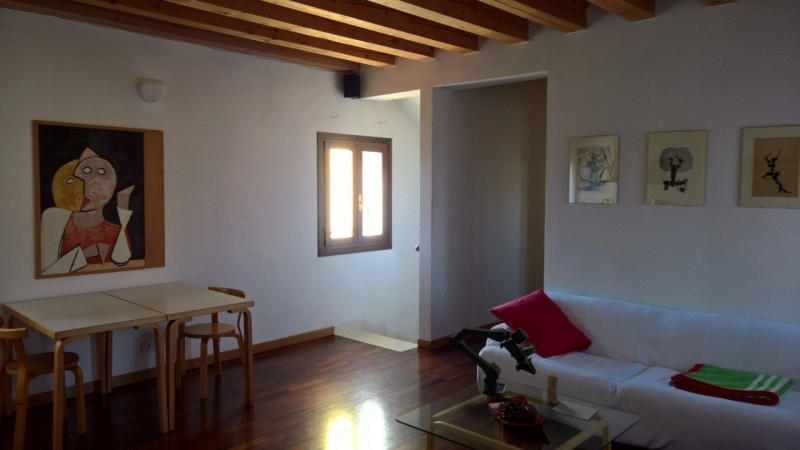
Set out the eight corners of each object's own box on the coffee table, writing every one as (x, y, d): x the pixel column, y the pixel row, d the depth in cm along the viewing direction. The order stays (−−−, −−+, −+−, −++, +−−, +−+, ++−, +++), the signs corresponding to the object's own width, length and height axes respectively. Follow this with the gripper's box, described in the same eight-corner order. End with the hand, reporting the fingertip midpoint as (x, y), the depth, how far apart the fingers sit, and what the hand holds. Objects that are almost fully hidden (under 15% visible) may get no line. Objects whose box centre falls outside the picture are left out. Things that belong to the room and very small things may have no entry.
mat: (551, 410, 288) (551, 409, 287) (562, 401, 298) (562, 400, 298) (587, 420, 277) (587, 419, 277) (598, 410, 288) (598, 409, 288)
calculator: (487, 403, 288) (517, 400, 290) (488, 411, 289) (518, 408, 290) (493, 412, 277) (524, 409, 279) (494, 421, 278) (525, 418, 280)
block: (546, 402, 296) (547, 375, 295) (547, 399, 301) (548, 372, 299) (556, 404, 295) (557, 377, 293) (557, 400, 299) (558, 374, 297)
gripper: (522, 345, 290) (544, 370, 288) (528, 334, 308) (549, 358, 305) (506, 359, 294) (528, 383, 292) (512, 347, 312) (533, 370, 309)
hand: (535, 373), depth 299 cm, fingers open, 3 cm apart
